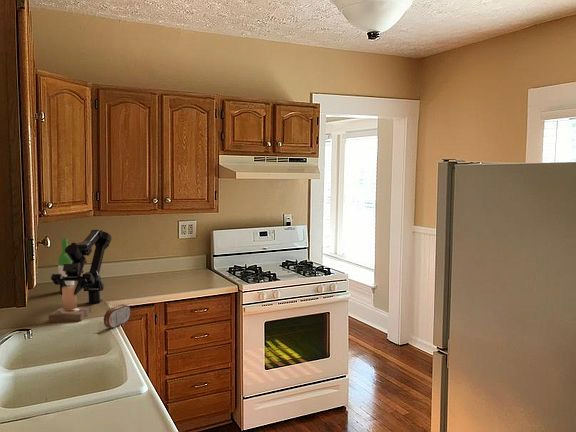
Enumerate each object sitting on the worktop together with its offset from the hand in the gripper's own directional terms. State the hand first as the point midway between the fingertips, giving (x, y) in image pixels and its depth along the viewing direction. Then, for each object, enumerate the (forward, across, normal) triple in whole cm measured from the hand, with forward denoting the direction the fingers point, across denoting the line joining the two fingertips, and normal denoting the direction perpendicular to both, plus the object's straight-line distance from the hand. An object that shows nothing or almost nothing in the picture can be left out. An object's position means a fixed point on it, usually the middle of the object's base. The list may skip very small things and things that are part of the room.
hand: (67, 294), depth 230 cm
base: (+7, 0, +9) cm, 11 cm away
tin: (+16, +27, 0) cm, 32 cm away
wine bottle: (-30, -26, +46) cm, 61 cm away
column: (+4, 0, +6) cm, 7 cm away
